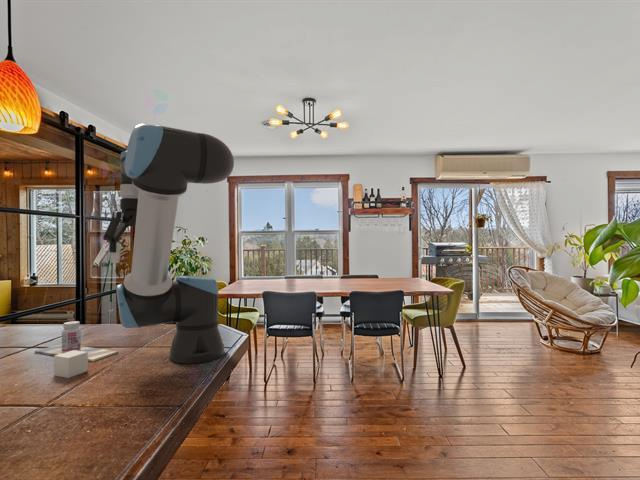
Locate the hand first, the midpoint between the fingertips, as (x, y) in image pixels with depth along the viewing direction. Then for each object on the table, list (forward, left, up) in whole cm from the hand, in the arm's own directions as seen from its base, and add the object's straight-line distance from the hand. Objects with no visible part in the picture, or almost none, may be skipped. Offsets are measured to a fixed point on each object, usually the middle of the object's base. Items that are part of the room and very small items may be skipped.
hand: (132, 261), depth 119 cm
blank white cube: (-9, +27, -27) cm, 39 cm away
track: (+6, +15, -27) cm, 31 cm away
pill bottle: (+8, +15, -26) cm, 31 cm away
